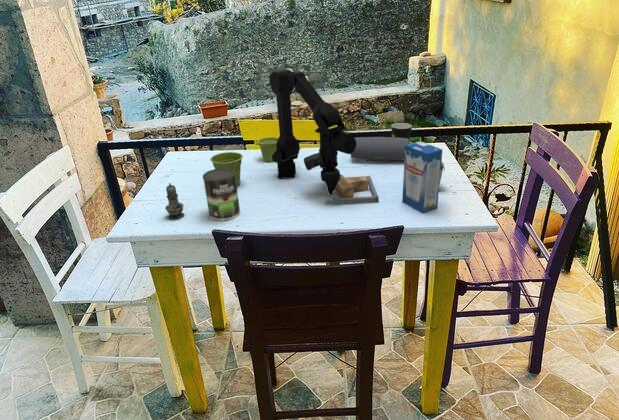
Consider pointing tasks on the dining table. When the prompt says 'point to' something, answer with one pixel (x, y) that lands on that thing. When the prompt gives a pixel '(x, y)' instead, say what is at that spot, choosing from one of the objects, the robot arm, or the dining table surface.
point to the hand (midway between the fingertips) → (329, 189)
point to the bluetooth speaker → (380, 149)
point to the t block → (351, 186)
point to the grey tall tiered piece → (174, 204)
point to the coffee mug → (401, 130)
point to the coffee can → (221, 194)
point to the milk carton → (421, 176)
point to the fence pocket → (355, 200)
